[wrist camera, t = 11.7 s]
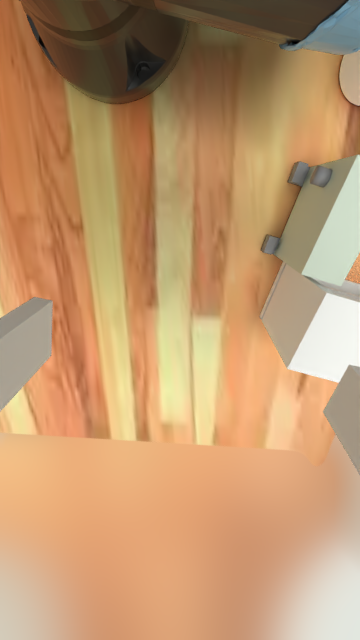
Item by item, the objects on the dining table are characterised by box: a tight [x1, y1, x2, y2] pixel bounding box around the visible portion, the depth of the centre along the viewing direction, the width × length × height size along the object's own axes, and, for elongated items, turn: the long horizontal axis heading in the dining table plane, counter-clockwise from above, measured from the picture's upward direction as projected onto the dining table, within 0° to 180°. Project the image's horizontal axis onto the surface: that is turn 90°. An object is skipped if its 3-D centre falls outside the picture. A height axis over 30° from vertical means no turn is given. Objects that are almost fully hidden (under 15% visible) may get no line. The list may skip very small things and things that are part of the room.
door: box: [274, 155, 360, 286], centre depth 29 cm, size 10×5×10 cm, turn 164°
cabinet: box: [259, 161, 360, 383], centre depth 29 cm, size 18×15×13 cm
